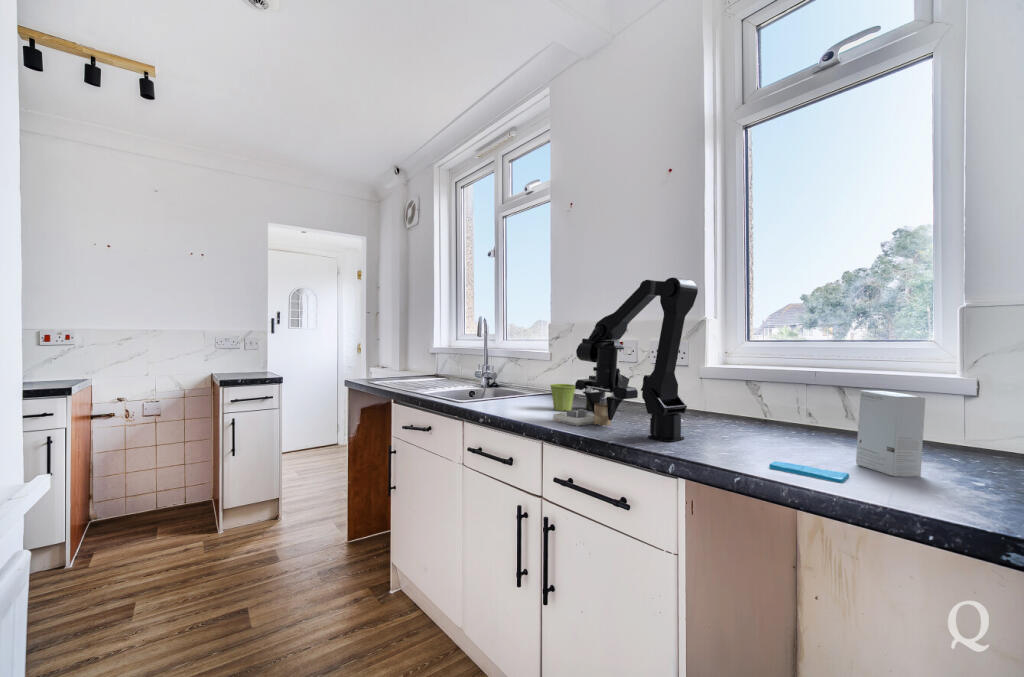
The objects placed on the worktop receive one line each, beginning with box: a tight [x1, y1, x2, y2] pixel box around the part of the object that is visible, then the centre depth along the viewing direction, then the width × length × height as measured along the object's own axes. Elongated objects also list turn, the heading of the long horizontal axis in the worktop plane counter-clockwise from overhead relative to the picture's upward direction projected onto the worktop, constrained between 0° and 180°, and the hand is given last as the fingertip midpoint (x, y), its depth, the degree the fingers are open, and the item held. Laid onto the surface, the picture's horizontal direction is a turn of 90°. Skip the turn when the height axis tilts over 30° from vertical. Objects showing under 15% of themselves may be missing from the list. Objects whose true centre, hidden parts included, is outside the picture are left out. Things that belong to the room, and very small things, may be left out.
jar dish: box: [552, 408, 594, 427], centre depth 133 cm, size 10×10×3 cm
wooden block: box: [593, 402, 612, 427], centre depth 129 cm, size 4×2×6 cm, turn 40°
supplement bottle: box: [585, 375, 606, 412], centre depth 157 cm, size 7×7×12 cm
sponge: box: [768, 460, 850, 484], centre depth 83 cm, size 2×12×6 cm
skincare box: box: [855, 389, 926, 478], centre depth 85 cm, size 8×6×15 cm
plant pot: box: [549, 383, 576, 412], centre depth 156 cm, size 9×9×9 cm
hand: (603, 418), depth 129 cm, fingers open, 5 cm apart
